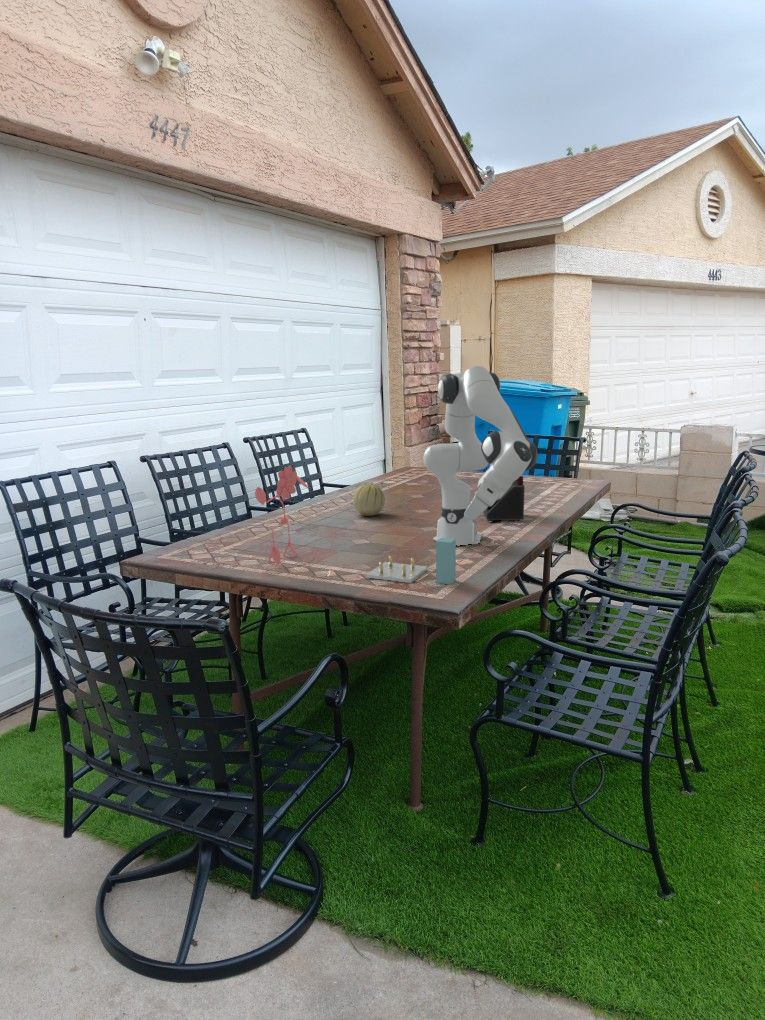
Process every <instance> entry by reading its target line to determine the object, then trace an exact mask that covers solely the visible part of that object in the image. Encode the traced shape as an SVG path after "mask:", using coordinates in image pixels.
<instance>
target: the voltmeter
mask: <svg viewBox="0 0 765 1020" xmlns="http://www.w3.org/2000/svg"><path fill="white" fill-rule="evenodd" d="M482 514H483V515H484V518H485V519H486V520H487V522H488V521H493V522H494V521H499V520H501V521H503V520H505V521H506V520H507V521H510V520H511V521H512V520H513V521H514V520H515V522H516V521H518V522H517V523H520V522H521V520H524V519H525V518H524V517H525V485H524V476H523V475H521V476H520V477H519V478H518V479H517V480H515V481H514V482H513V483H512V485H511V487H510V488H509V489H508V491H507V492H506V493H505V494H504V495H503V496H502V497H501V498H500V499H499V500H497V501H496V502H495V503H494V504H493V505H492V506H489V507H488V508H487V509H486V510H485V511H484V512H483V513H482ZM519 521H520V522H519Z"/></svg>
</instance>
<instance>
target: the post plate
mask: <svg viewBox="0 0 765 1020" xmlns="http://www.w3.org/2000/svg"><path fill="white" fill-rule="evenodd" d="M426 570H427V571H428V566H427V565H417V564H415V558H414V557H412V558H411V559H410V564H407V563H398V562H393V555H389V556H388V561H384V562H382V561H380V562H379V565H378V566H376V567H374V569H372V570H371V571H369V572H368V573H366V574H365V578H366V579H370V578H374V579H373V580H378V579H383V580H382V581H387V580H391V581H390V582H396V581H398V583H404V582H405V584H412V583H413V582H415V581H416V580H417V579H418V578H419V577H421V576H422V575H423V574H424V573H426V572H427V571H426Z"/></svg>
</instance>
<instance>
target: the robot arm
mask: <svg viewBox="0 0 765 1020" xmlns="http://www.w3.org/2000/svg"><path fill="white" fill-rule="evenodd" d="M500 391H501V383H500V378H499V376H498V375H497V374H496V373H494V372H492V371H491V372H490V371H489V370H488V369H487V368H486V367H484V366H483V365H482V366H481V365H473V366H470V367H469V368H467V369H466V370H465V371H464V372H457V373H448V374H444V375H442V376H441V377H440V378H439V381H438V385H437V393H438V396H439V399H440V401H441V402H442V403H444V404H446V405H445V413H444V414H445V416H444V430H445V432H446V434H447V435H449V436H450V437H451V438H454V439H456V440H457V441H458V442H457V443H456V442H455V443H437V444H434V445H430V446H427V448H425V451H424V453H423V459H422V460H423V464H424V467H426V470H428V471H429V472H431V473H432V474H433V475H434V476H435V478H436V479H437V480H438V483H439V484H440V488H441V489H440V490H441V499H442V503H441V507H440V516H441V517H440V518H439V519H437V524H436V525H437V526H436V535H435V536H434V537H433V540H432V541H435V542H436V541H437V540H438V539H440V538H452V539H456V545H457V546H456V547H461V546H460V545H466V546H469V545H468V544H472V545H479V544H478V543H481V541H480V540H482V538H481V537H483V532H480V531H477V526H478V525H477V521H476V519H477V518H479V516H481V515H482V514H484V513H483V512H484V511H485V510H486V509H487V508H488V507H489V506H492V505H493V504H494V503H495V502H496V501H497V500H499V499H500V498H501V497H502V496H503V495H504V494H505V493H506V492H507V491H508V489H509V488H510V487H511V485H512V483H513V482H514V481H515V480H517V479H518V478H519V477H520V476H523V473H525V472H527V471H529V470H531V469H532V468H533V467H534V466H535V465H536V464H537V461H538V457H539V456H538V449H537V446H536V444H535V443H534V442H533V441H531V440H530V439H529V438H528V436H527V435H526V432H525V431H524V429H523V428H522V425H521V423H520V422H519V420H518V418H517V417H516V414H515V413H514V411H513V410H512V409H511V407H510V406H509V405H508V404H507V402H506V401H505V400H504V398H503V397H502V395H501V393H500ZM476 417H477V418H479V419H481V420H483V421H485V422H487V423H489V424H491V425H493V426H494V427H496V428H498V429H499V431H498V430H493V431H491V432H489V433H488V434H487V435H486V436H485V437H484V439H483V440H482V442H481V440H479V438H478V436H477V433H476V427H475V426H476V425H475V424H476ZM488 466H489V467H488ZM487 467H488V469H487V470H486V471H485V472H484V473H483V474H482V476H480V478H479V479H478V482H477V488H476V490H475V492H474V496H473V498H472V499H471V495H472V489H471V486H470V485H469V484H468V483H466V482H465V481H464V480H461V479H459V478H457V475H456V473H460V472H461V473H462V472H463V473H465V472H476V471H480V470H485V469H486V468H487Z"/></svg>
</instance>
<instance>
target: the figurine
mask: <svg viewBox="0 0 765 1020" xmlns="http://www.w3.org/2000/svg"><path fill="white" fill-rule="evenodd" d="M277 476H278V479H279V480H278V481H277V483H276V486H277V488H276V492H275V493H276V494H275V496H273V497H271V498H270V499H268V500H267V494H266V492H265V491H264V489H263V488H261V487H260V486H257V487H256V488H255V492H254V496H255V499H256V501H257V502H258V503H259V504H261V505H262V506H264V505H265V504H268V503H269V502H271V501H273V500H274V499H275V498H278V500H279V502H280V504H281V505H282V509H283V510H282V511H283V516H282V517H281V518H280V520H279V522H280V523H279V524H278V525H277V526H275V527H274V528H273V529H271V535H272V543H273V544H272V546H271V547H270V556H269V557H268V560H267V562H268V563H269V562H271V559H273V561H275V563H276V564H277V565H278V566H279V565H280V563H281V556H283V557H284V556H285V555H286V553H287V551H288V550H289V548H290V550H291V551H292V552H293V553H294V554H295V555H296V556H299V554H298V552H297V551H296V549H295V547H294V546H293V544H292V542H291V536H290V528H289V526H290V525H289V523H288V522H289V519H288V518H287V517H286V510H285V504H284V502H283V501H286V499H287V500H290V498H291V494H292V495H293V494H295V493H297V488H296V487H295V486H296V483H297V481H298V482H299V483H300V484H301V485H302V486H303V487H305V488H306V489H309V488H310V487H309V486H308V484H307V483H306V482H305V481H304V480H303V479H302V478H301V477H300V476H298V475H297V471H296V470H294V471H293V467H292V465H291V464H289V465H288V466H285V467H284V468H283V470H279V471H278V472H277ZM280 497H281V498H280ZM281 525H286V526H287V533H288V534H287V536H288V540H287V541H286V542H287V546H286V548H285V549H284V550H285V551H284V553H283V555H281V553H280V550H279V549H278V548H277V546H276V545H275V537H274V530H276V529H277V528H278V527H280V526H281ZM311 556H313V557H314V555H312V554H311ZM310 563H312V561H309V564H310ZM306 564H308V562H306V563H303V564H302V566H305V565H306ZM256 565H257V566H260V565H259V564H256ZM300 565H301V564H299V565H298V567H299V566H300Z"/></svg>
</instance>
